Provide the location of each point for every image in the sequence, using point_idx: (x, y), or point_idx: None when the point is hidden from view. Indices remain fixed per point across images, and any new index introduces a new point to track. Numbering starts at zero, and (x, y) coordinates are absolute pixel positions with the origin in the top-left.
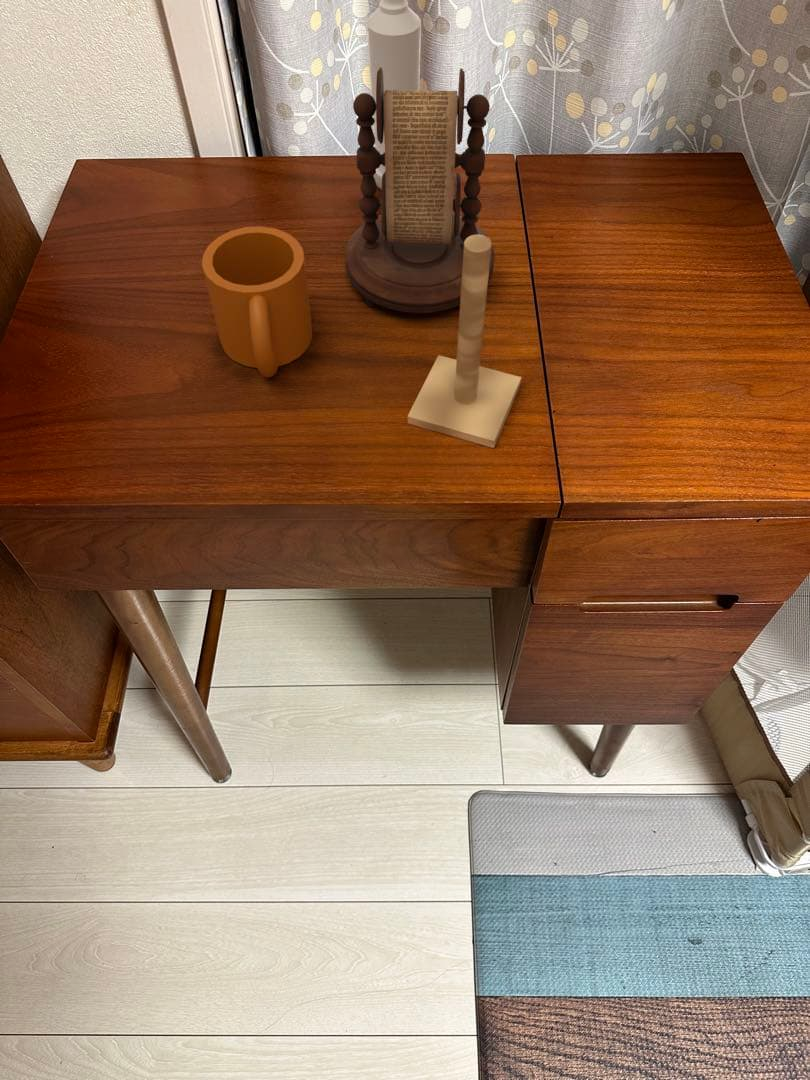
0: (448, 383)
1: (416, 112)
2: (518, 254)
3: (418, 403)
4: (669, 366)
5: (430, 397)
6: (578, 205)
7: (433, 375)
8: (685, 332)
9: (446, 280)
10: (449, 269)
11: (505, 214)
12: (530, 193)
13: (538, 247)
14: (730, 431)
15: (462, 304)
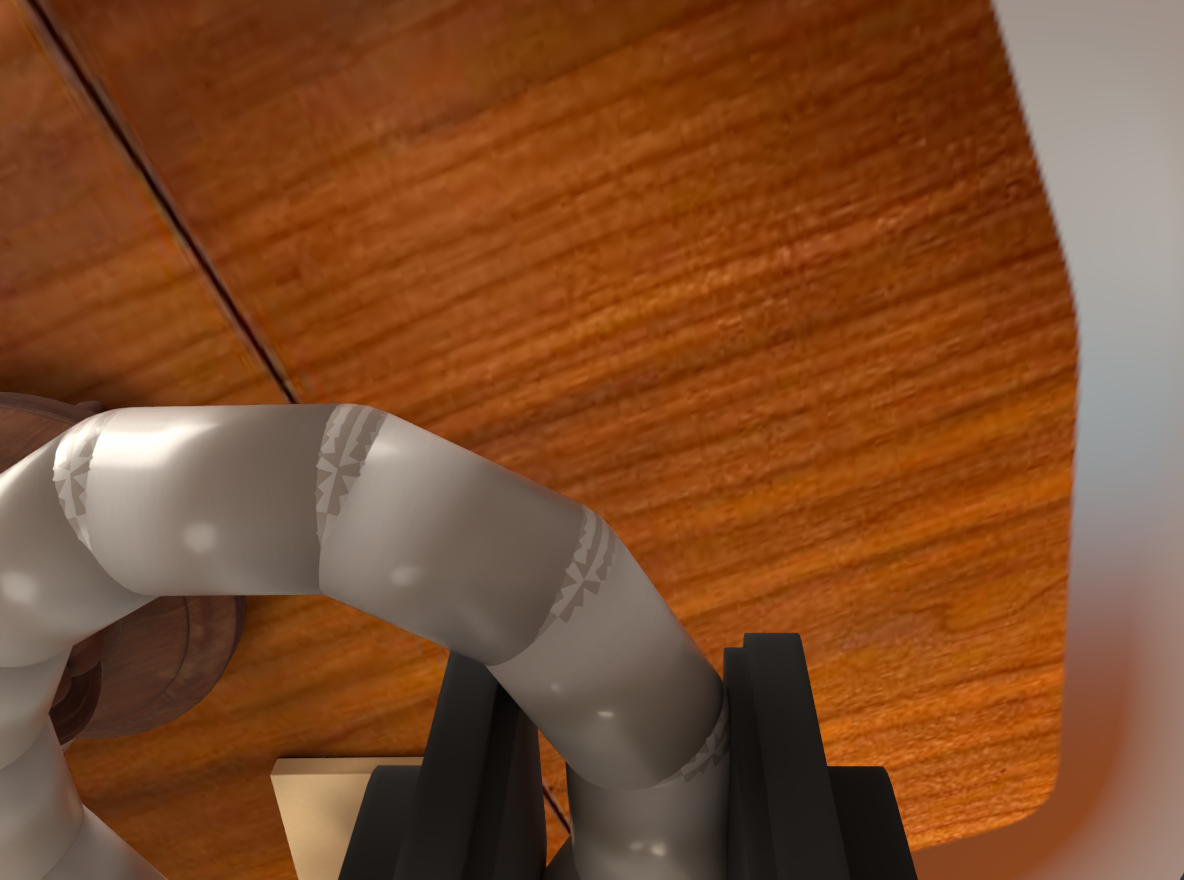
0: (330, 825)
1: None
2: (248, 383)
3: (306, 877)
4: (752, 613)
5: (318, 860)
6: (298, 73)
7: (292, 819)
8: (770, 502)
9: (162, 685)
10: (145, 656)
11: (113, 222)
12: (120, 75)
13: (283, 334)
14: (910, 727)
15: None
